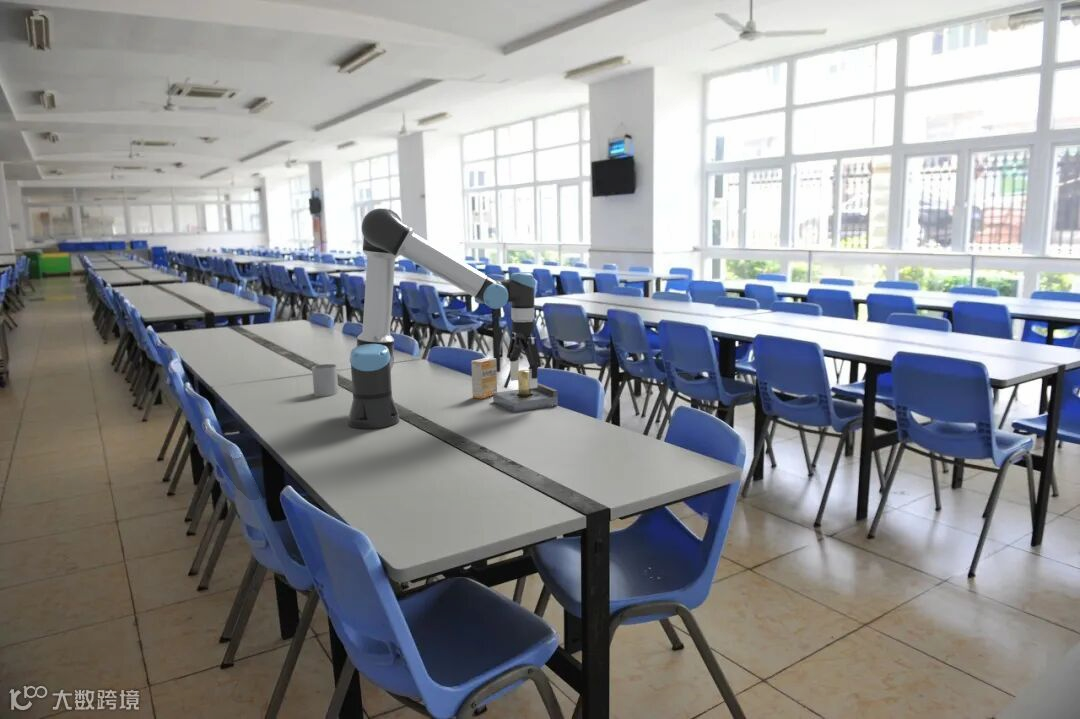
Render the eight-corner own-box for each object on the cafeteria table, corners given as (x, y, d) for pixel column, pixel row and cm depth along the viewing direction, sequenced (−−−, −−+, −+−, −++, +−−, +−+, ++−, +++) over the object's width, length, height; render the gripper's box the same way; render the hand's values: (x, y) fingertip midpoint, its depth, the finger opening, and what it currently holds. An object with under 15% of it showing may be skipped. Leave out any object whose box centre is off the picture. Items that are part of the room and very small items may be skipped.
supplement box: (482, 399, 256) (481, 361, 254) (472, 397, 259) (470, 360, 257) (498, 394, 263) (496, 358, 260) (487, 392, 265) (486, 356, 263)
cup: (341, 391, 273) (339, 364, 271) (333, 396, 265) (331, 368, 263) (319, 390, 274) (317, 364, 272) (310, 396, 266) (308, 368, 264)
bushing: (522, 405, 246) (521, 373, 244) (516, 403, 250) (515, 370, 248) (534, 404, 248) (533, 371, 246) (528, 401, 252) (527, 369, 250)
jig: (514, 412, 239) (513, 396, 238) (493, 401, 253) (492, 387, 252) (557, 405, 246) (557, 390, 245) (535, 395, 260) (534, 381, 259)
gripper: (551, 324, 235) (551, 390, 239) (516, 315, 257) (517, 375, 261) (530, 325, 231) (530, 392, 235) (496, 316, 253) (497, 378, 257)
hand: (523, 384), depth 248 cm, fingers open, 13 cm apart
